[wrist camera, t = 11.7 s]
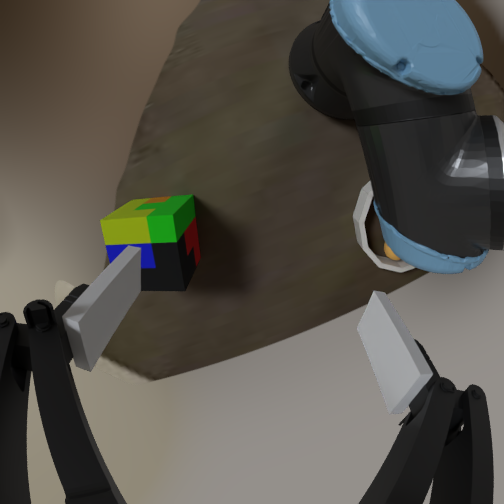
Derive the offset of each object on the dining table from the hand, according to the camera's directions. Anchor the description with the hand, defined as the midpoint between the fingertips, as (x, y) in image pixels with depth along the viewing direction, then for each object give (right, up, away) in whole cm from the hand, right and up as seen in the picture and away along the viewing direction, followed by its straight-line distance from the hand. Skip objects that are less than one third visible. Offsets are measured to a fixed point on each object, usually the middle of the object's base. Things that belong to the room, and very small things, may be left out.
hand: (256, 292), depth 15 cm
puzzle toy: (-13, +6, +28) cm, 31 cm away
